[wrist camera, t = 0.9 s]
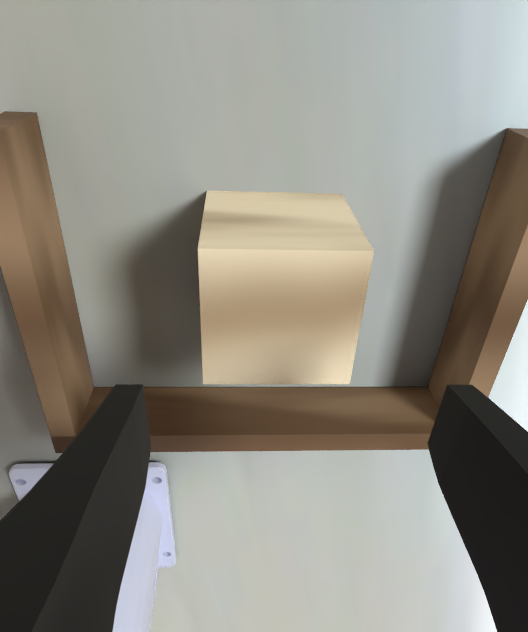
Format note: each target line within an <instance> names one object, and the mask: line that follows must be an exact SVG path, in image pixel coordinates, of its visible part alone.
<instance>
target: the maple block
mask: <svg viewBox="0 0 528 632" xmlns="http://www.w3.org/2000/svg"><path fill="white" fill-rule="evenodd" d="M373 254H374V250H373V249H372V247H371V245H370V243H369V241H368V240H367V238H366V236H365V234H364V233H363V231H362V229H361V227H360V225H359V224H358V222H357V220H356V218H355V216H354V215H353V213H352V211H351V209H350V207H349V206H348V204H347V202H346V200H345V199H344V197H343V195H342V194H321V193H280V192H240V191H207V193H206V200H205V206H204V212H203V219H202V225H201V231H200V238H199V244H198V267H199V293H200V318H201V344H202V370H203V384H350V379H351V373H352V368H353V363H354V357H355V352H356V346H357V341H358V335H359V330H360V325H361V319H362V314H363V308H364V303H365V297H366V292H367V287H368V281H369V276H370V270H371V265H372V259H373Z"/></svg>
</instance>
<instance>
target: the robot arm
mask: <svg viewBox="0 0 528 632" xmlns="http://www.w3.org/2000/svg"><path fill="white" fill-rule="evenodd" d="M427 444H428V448H429V451H430V455H431V459H432V463H433V466H434V470H435V473H436V476H437V479H438V483H439V485H440V488H441V490H442V493H443V495H444V498H445V500H446V502H447V505H448V507H449V509H450V512H451V514H452V516H453V519H454V521H455V523H456V526H457V528H458V530H459V533H460V535H461V537H462V540H463V542H464V544H465V547H466V549H467V551H468V553H469V556H470V558H471V560H472V563H473V565H474V567H475V570H476V572H477V574H478V577H479V579H480V582H481V585H482V587H483V590H484V592H485V595H486V598H487V601H488V604H489V607H490V610H491V613H492V616H493V620H494V623H495V626H496V629H497V632H528V432H527V431H526V430H525V429H524V428H522V427H521V426H520V425H519V424H518V423H517V422H516V421H514V420H513V419H512V418H511V417H510V416H509V415H507V414H506V413H505V412H504V411H503V410H502V409H500V408H499V407H498V406H497V405H496V404H495V403H494V402H492V401H491V400H490V399H489V398H488V397H486V396H485V395H484V394H483V393H482V392H481V391H479V390H478V389H477V388H476V387H474V386H473V385H447V387H446V390H445V393H444V396H443V399H442V402H441V405H440V408H439V411H438V414H437V417H436V419H435V422H434V425H433V428H432V431H431V434H430V437H429V440H428V443H427ZM150 450H151V442H150V434H149V427H148V419H147V412H146V404H145V397H144V389H143V385H115V386H114V387H113V388H112V389H111V390H110V392H109V393H108V395H107V396H106V398H105V399H104V400H103V402H102V403H101V404H100V406H99V407H98V409H97V410H96V411H95V413H94V414H93V415H92V417H91V418H90V419H89V421H88V422H87V423H86V425H85V426H84V427H83V429H82V430H81V431H80V432H79V434H78V435H77V436H76V437H75V439H74V440H73V441H72V442H71V443H70V445H69V446H68V447H67V448H66V450H65V451H64V452H63V453H62V455H61V456H60V457H59V458H58V459H57V460H56V462H55V463H41V464H15V465H13V466H12V467H11V469H10V471H9V477H10V479H11V482H12V484H13V487H14V490H15V492H16V495H17V497H18V500H19V502H18V503H17V504H16V505H15V506H14V507H13V508H12V509H11V510H10V511H9V512H8V513H7V515H5V516H4V517H3V518H2V519H1V520H0V632H150V629H151V622H152V614H153V607H154V600H155V593H156V586H157V579H158V571H159V567H172V566H174V565H175V564H176V550H175V541H174V532H173V523H172V514H171V505H170V496H169V487H168V477H167V469H166V466H165V465H164V464H162V463H158V462H149V457H150Z"/></svg>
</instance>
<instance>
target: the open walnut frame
mask: <svg viewBox="0 0 528 632" xmlns="http://www.w3.org/2000/svg"><path fill="white" fill-rule="evenodd" d="M0 267H1V270H2V273H3V277H4V280H5V284H6V287H7V290H8V294H9V297H10V300H11V304H12V307H13V311H14V314H15V317H16V321H17V324H18V327H19V331H20V334H21V338H22V341H23V344H24V348H25V351H26V354H27V358H28V361H29V365H30V368H31V371H32V375H33V378H34V381H35V385H36V388H37V392H38V395H39V398H40V402H41V405H42V408H43V412H44V415H45V419H46V422H47V425H48V429H49V432H50V435H51V439H52V442H53V446H54V449H55V452H56V453H63V452H64V451H65V450H66V448H67V447H68V446H69V445H70V443H71V442H72V441H73V440H74V439H75V437H76V436H77V435H78V434H79V432H80V431H81V430H82V429H83V427H84V426H85V425H86V423H87V422H88V421H89V419H90V418H91V417H92V415H93V414H94V413H95V411H96V410H97V409H98V407H99V406H100V404H101V403H102V402H103V400H104V399H105V398H106V396H107V395H108V393H109V392H110V390H111V389H112V388H113V387H94V386H93V381H92V376H91V371H90V367H89V362H88V357H87V352H86V347H85V343H84V338H83V333H82V328H81V323H80V318H79V314H78V309H77V304H76V299H75V294H74V290H73V285H72V280H71V275H70V270H69V266H68V261H67V256H66V251H65V246H64V242H63V237H62V232H61V227H60V222H59V217H58V213H57V208H56V203H55V198H54V193H53V189H52V184H51V179H50V174H49V169H48V165H47V160H46V155H45V150H44V145H43V141H42V136H41V131H40V126H39V121H38V116H37V113H32V112H3V113H1V114H0ZM527 300H528V129H512V128H507V130H506V133H505V137H504V140H503V143H502V146H501V150H500V153H499V156H498V160H497V163H496V166H495V169H494V173H493V176H492V179H491V182H490V186H489V189H488V192H487V196H486V199H485V202H484V205H483V209H482V212H481V215H480V219H479V222H478V225H477V228H476V232H475V235H474V238H473V241H472V245H471V248H470V251H469V255H468V258H467V261H466V264H465V268H464V271H463V274H462V278H461V281H460V284H459V287H458V291H457V294H456V297H455V300H454V304H453V307H452V310H451V314H450V317H449V320H448V323H447V327H446V330H445V333H444V337H443V340H442V343H441V346H440V350H439V353H438V356H437V359H436V363H435V366H434V369H433V373H432V376H431V379H430V382H429V386H428V387H143V389H144V397H145V404H146V412H147V419H148V427H149V434H150V442H151V450H150V452H195V451H302V450H410V449H429V448H428V444H427V443H428V440H429V437H430V434H431V431H432V428H433V425H434V422H435V419H436V417H437V414H438V411H439V408H440V405H441V402H442V399H443V396H444V393H445V390H446V387H447V385H473V386H474V387H476V388H477V389H478V390H479V391H481V392H482V393H483V394H484V395H485V396H486V397H488V396H489V394H490V391H491V389H492V386H493V384H494V381H495V379H496V376H497V374H498V371H499V369H500V366H501V364H502V361H503V359H504V357H505V354H506V352H507V349H508V347H509V344H510V342H511V339H512V337H513V334H514V332H515V329H516V327H517V324H518V322H519V319H520V317H521V314H522V312H523V309H524V307H525V304H526V302H527Z"/></svg>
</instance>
